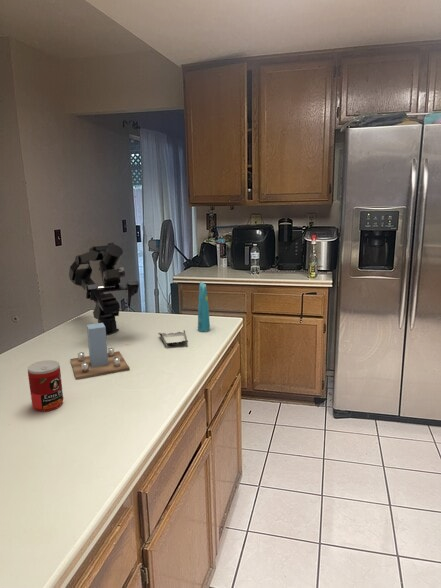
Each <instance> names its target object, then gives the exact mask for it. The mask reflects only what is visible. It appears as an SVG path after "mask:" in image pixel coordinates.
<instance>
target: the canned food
mask: <svg viewBox="0 0 441 588" xmlns="http://www.w3.org/2000/svg"><path fill="white" fill-rule="evenodd" d="M61 373H62V372H61V366H60V362H58V361H57V360H52V359H51V360H50V359H47V360H46V359H44V360H39V361H36V362H34V363H31V364H30V365H28V366H27V376H28V377H27V378H28V383H29V390H30V399H31V406H32V408H33V410H35V411H37V412H49V411H50V412H51V411H53V410H56V409H59V408H60V407H61V406H62V405H63V403H64V395H63V394H64V393H63V384H62V374H61Z"/></svg>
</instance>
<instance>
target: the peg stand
mask: <svg viewBox="0 0 441 588" xmlns="http://www.w3.org/2000/svg"><path fill="white" fill-rule="evenodd" d="M107 353H108V365H103V366H97V367H92V366H91V363H90V356H89V355H88V356H87V355H86V356H85V352H80V351H79V352H78V353H77V357H74V358H70V364H71V367H72V371H73V374H74V377H75V380H81V379H82V380H83V379H88V378H93V377H94V378H95V377H98V376H99V377H100V376H105V375H110V374H116V373H122V372H127V371H130V366H129V364H128V363H127V361H126V360H125V358H124V357H123V355H122V354H121V352H120V351H119V350H117V351H115V348H114V347H109V348H108V347H107Z"/></svg>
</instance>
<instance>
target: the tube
mask: <svg viewBox="0 0 441 588" xmlns="http://www.w3.org/2000/svg"><path fill="white" fill-rule="evenodd" d="M207 289H208V288H207V284H205V283H204V282H202V281H201V280H200V281H199V288H198V303H197V304H198V306H197V331H198V332H201V333H202V332H209V331H210V330H211V327H210V325H211V324H210V307H209V297H208V292H207V291H208V290H207Z"/></svg>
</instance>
